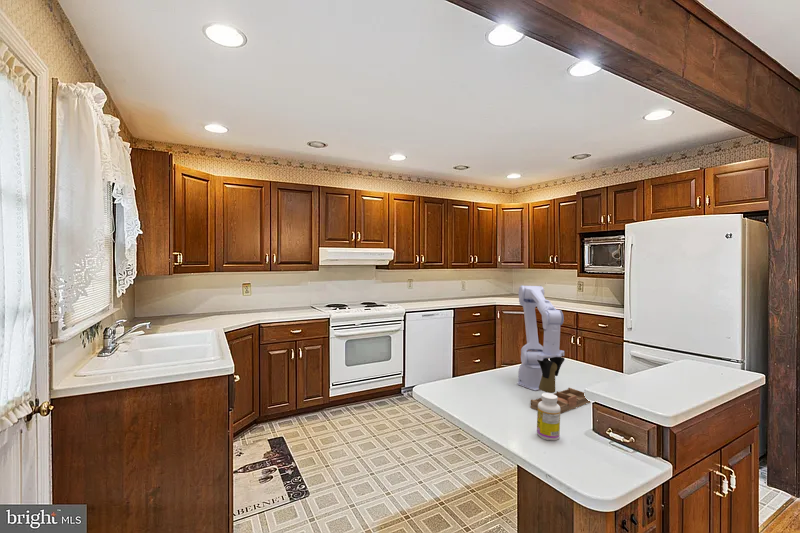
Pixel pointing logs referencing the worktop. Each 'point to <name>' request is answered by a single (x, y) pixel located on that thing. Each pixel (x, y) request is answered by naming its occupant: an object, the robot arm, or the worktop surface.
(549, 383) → the olive bulbous cylinder
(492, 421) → the worktop surface
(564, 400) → the spice rack
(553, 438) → the supplement bottle
